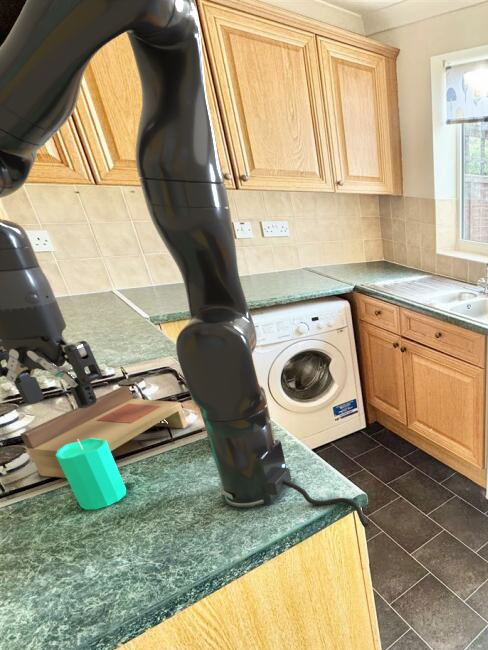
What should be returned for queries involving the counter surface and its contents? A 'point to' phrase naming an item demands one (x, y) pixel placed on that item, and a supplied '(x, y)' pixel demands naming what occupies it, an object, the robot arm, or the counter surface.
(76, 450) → the candle
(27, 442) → the shelf
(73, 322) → the counter surface
